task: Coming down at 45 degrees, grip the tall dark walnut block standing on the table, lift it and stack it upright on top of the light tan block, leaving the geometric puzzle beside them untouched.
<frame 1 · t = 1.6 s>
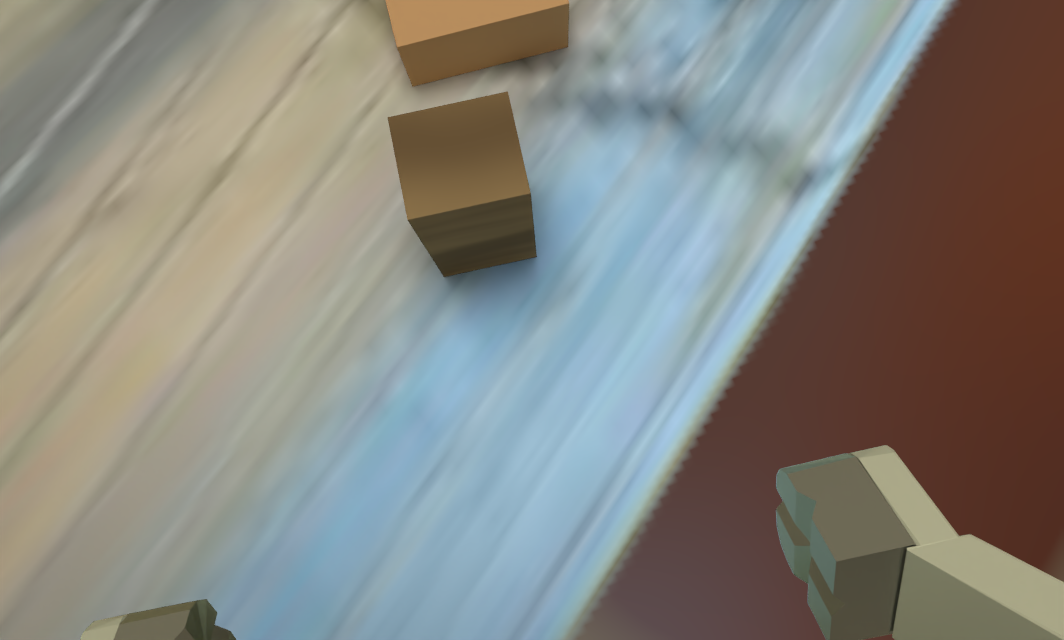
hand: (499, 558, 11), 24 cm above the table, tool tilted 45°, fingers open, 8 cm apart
walnut block: (481, 227, 36), on the table
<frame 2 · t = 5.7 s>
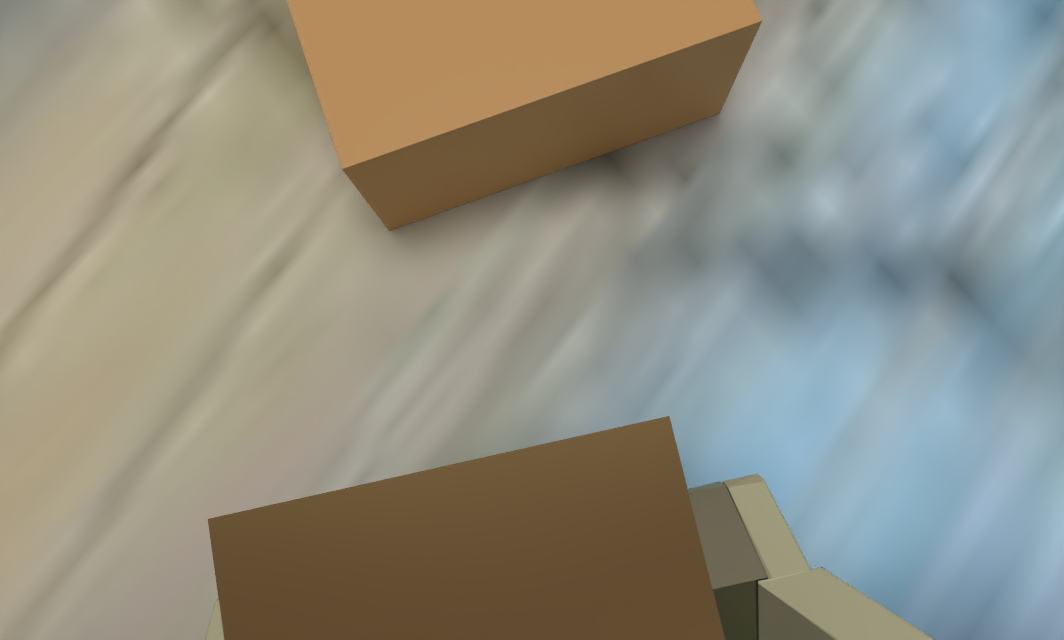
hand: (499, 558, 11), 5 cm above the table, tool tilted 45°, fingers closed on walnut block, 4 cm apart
walnut block: (527, 555, 16), on the table, touching gripper
light tan block: (498, 28, 18), on the table
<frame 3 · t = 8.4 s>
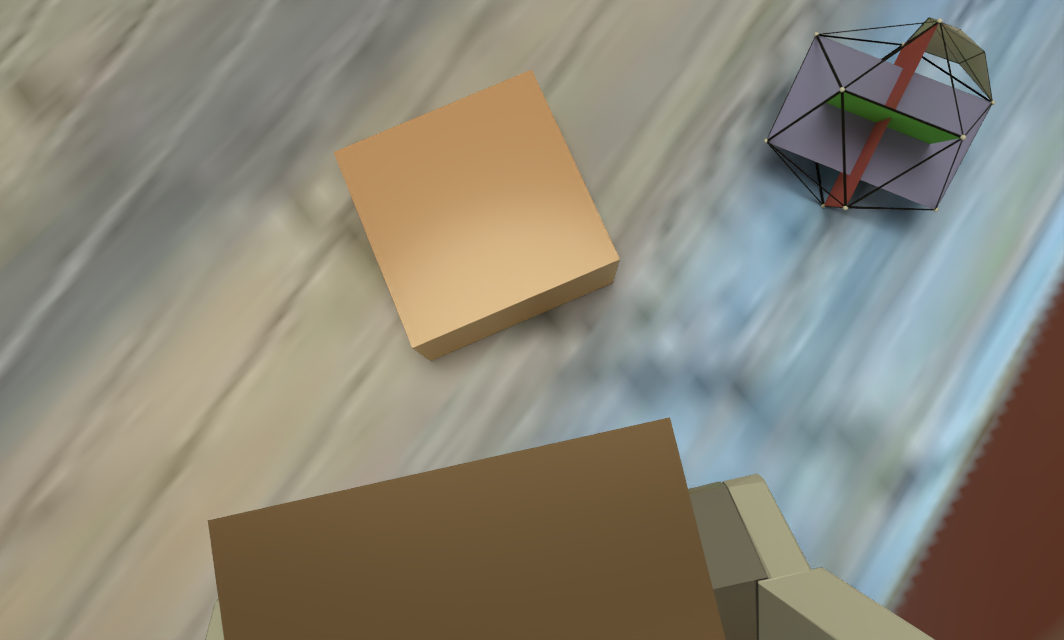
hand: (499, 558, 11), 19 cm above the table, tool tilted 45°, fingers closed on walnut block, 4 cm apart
walnut block: (527, 556, 16), point 14 cm above the table, touching gripper
geometric puzzle: (842, 158, 31), on the table
light tan block: (484, 236, 31), on the table
when the fingers open (10 cm above the table, at t = 11.2 s): walnut block drops 1 cm, point 4 cm above the table.
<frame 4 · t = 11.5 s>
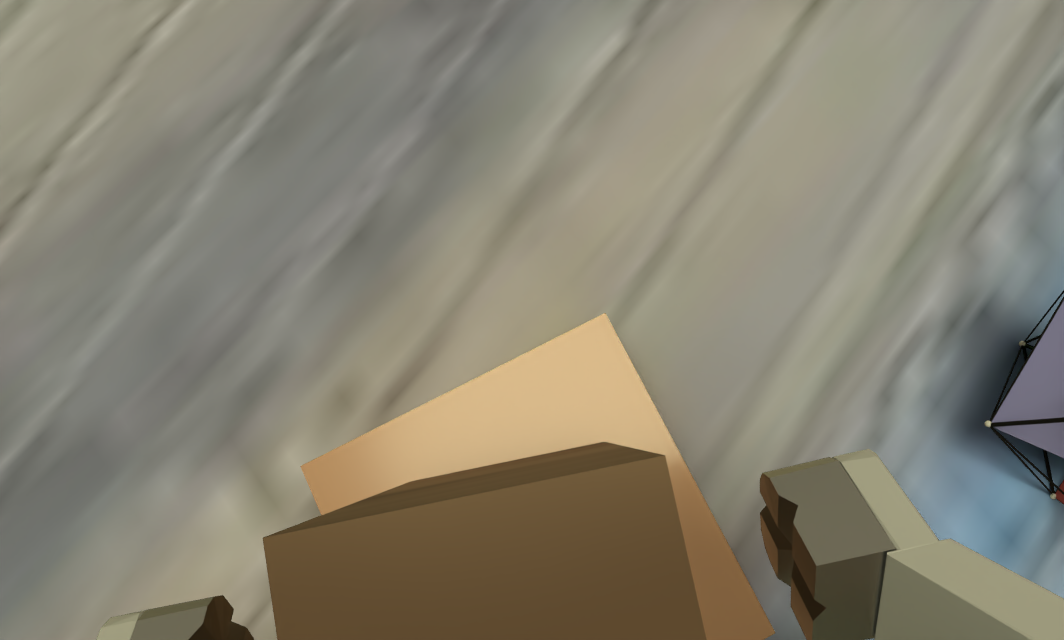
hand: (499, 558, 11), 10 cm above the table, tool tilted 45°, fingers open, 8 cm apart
walnut block: (525, 550, 17), point 4 cm above the table
light tan block: (537, 530, 21), on the table
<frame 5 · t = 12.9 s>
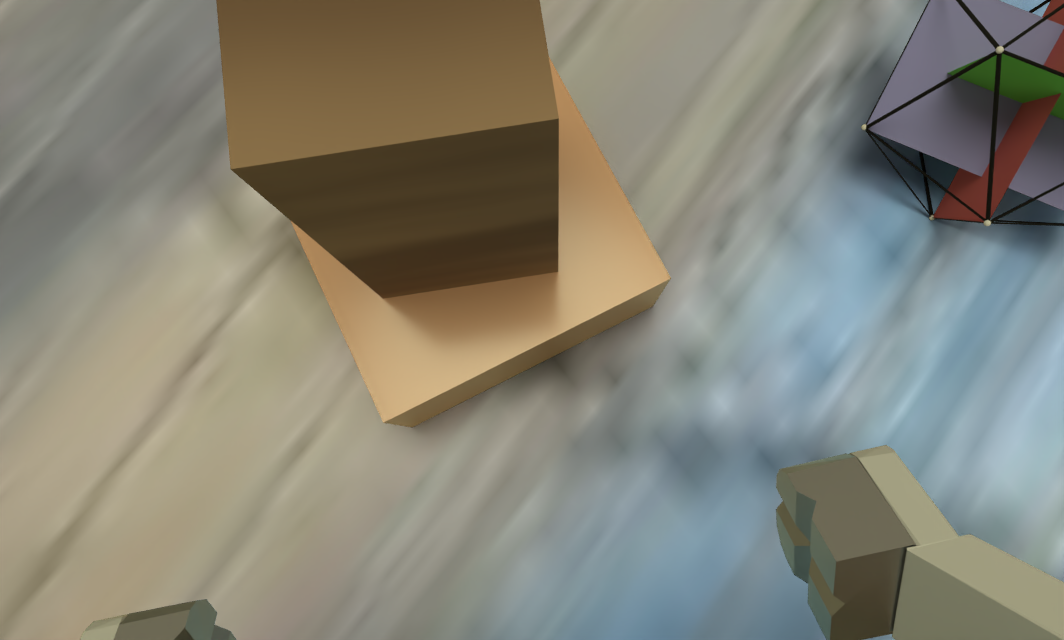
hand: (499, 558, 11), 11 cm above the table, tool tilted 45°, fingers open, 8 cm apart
walnut block: (460, 210, 19), point 4 cm above the table, touching light tan block
geometric puzzle: (955, 153, 23), on the table
light tan block: (476, 252, 23), on the table, touching walnut block
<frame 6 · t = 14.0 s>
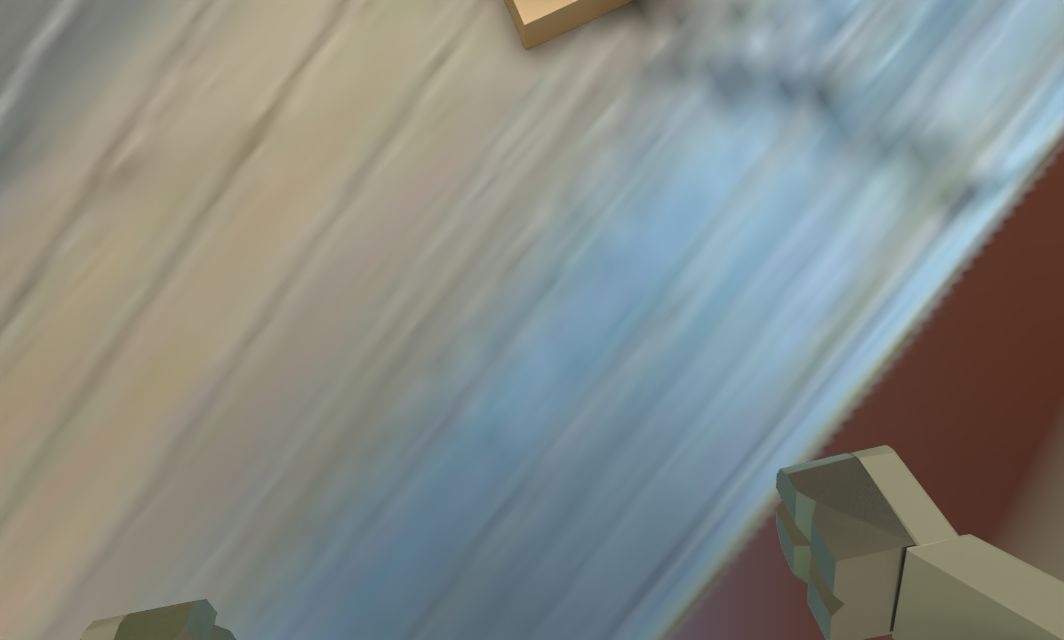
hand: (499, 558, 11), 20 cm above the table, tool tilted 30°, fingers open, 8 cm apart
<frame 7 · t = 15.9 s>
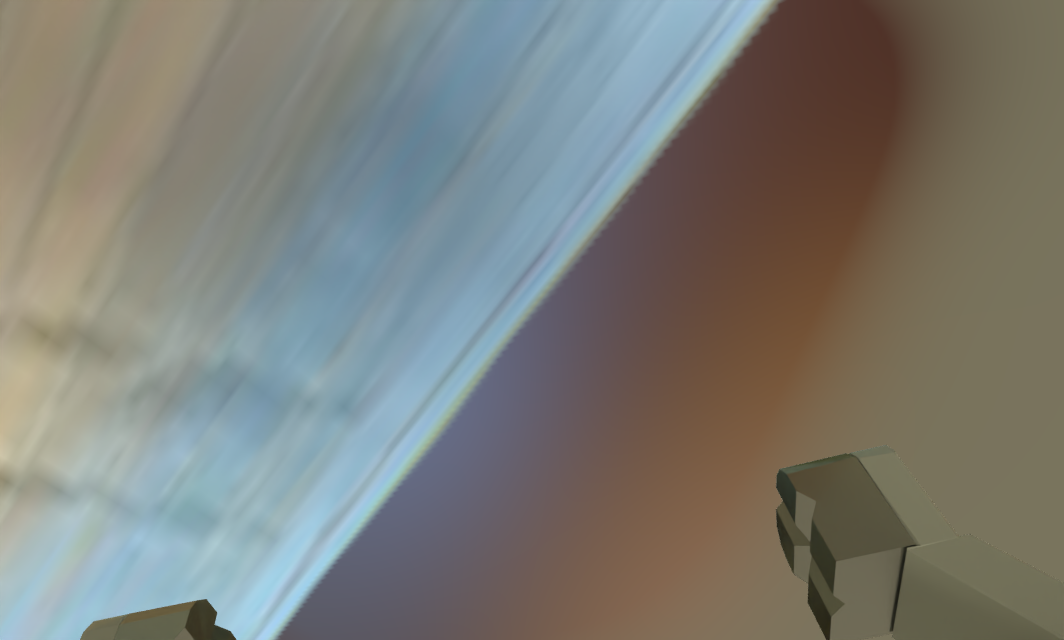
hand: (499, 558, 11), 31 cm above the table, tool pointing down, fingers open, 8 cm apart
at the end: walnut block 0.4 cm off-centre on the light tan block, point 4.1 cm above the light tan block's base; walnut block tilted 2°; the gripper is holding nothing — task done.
